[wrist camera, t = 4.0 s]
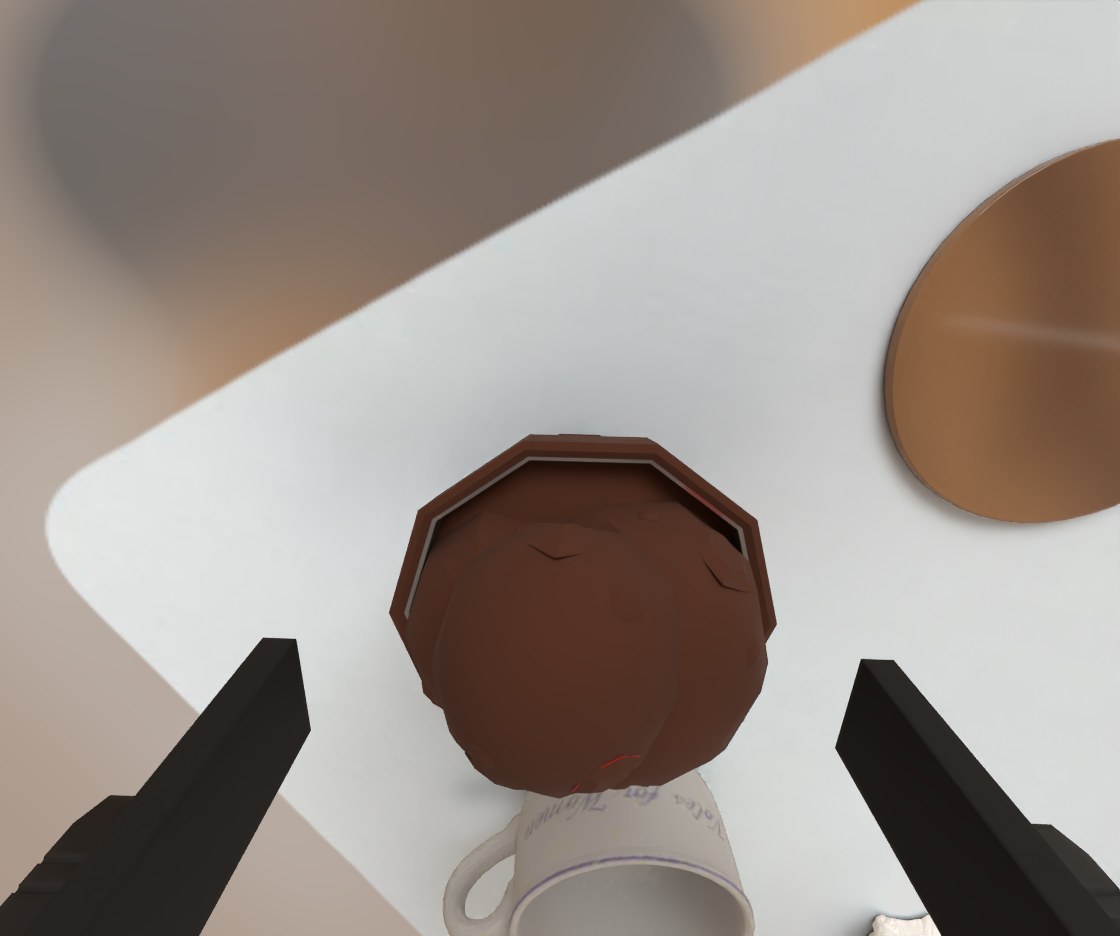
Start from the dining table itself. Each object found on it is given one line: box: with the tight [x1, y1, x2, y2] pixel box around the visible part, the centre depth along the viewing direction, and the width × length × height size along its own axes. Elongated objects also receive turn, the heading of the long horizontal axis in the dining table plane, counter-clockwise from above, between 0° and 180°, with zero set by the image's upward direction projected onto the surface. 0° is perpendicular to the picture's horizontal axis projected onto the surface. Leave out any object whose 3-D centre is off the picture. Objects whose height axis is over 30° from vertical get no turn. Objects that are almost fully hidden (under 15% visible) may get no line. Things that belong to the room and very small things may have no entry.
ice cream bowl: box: [389, 434, 777, 799], centre depth 17 cm, size 11×11×15 cm
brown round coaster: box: [884, 139, 1120, 523], centre depth 22 cm, size 15×15×1 cm
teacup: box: [443, 769, 755, 936], centre depth 27 cm, size 14×11×8 cm
